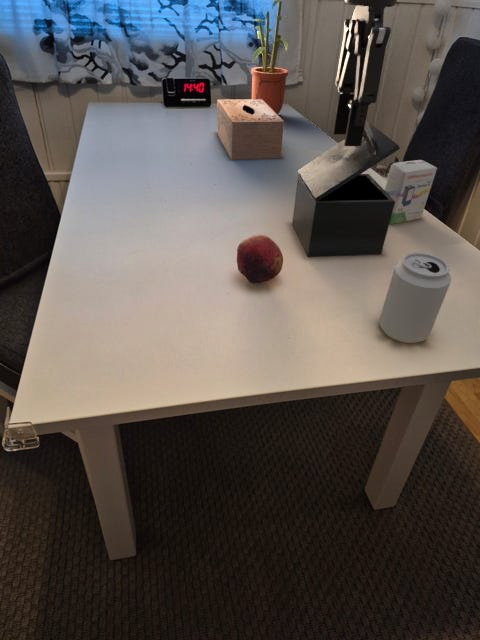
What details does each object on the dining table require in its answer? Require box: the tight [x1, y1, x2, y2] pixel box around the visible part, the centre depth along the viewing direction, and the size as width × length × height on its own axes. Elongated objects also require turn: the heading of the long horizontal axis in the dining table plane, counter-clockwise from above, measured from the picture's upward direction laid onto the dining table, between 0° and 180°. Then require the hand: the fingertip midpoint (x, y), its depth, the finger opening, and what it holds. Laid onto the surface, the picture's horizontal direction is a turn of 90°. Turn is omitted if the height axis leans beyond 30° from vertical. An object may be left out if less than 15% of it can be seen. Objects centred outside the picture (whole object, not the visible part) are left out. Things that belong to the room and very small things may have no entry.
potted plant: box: [250, 0, 289, 115], centre depth 154 cm, size 17×16×35 cm
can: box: [378, 251, 452, 344], centre depth 64 cm, size 8×8×12 cm
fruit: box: [236, 234, 284, 285], centre depth 74 cm, size 8×8×8 cm
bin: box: [291, 173, 395, 258], centre depth 87 cm, size 15×14×11 cm
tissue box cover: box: [216, 98, 285, 161], centre depth 133 cm, size 26×14×10 cm, turn 11°
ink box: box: [384, 159, 438, 225], centre depth 95 cm, size 9×5×12 cm, turn 114°
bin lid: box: [297, 97, 401, 202], centre depth 78 cm, size 16×14×9 cm
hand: (346, 139), depth 78 cm, fingers closed on bin lid, 6 cm apart
